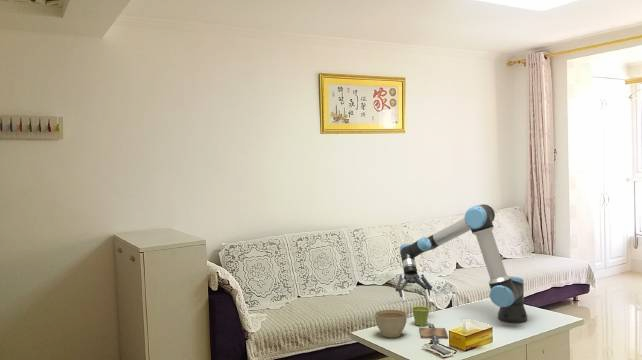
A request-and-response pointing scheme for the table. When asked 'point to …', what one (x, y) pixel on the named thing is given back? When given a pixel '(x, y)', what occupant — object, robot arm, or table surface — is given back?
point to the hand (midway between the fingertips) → (416, 301)
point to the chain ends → (434, 337)
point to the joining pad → (433, 333)
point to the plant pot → (420, 315)
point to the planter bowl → (391, 322)
